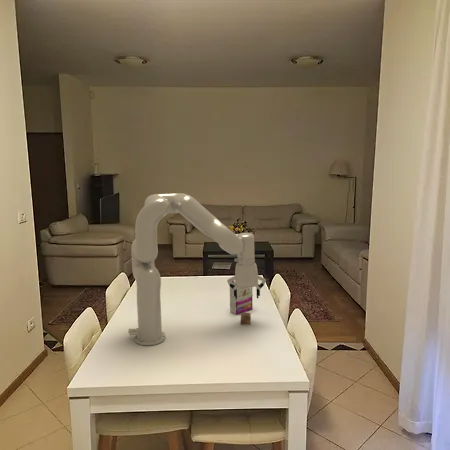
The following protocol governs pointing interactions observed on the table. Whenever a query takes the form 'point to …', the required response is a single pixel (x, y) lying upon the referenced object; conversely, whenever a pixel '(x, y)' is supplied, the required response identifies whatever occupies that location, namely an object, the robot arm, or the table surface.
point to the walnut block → (245, 319)
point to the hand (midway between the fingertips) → (246, 297)
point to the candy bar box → (240, 299)
